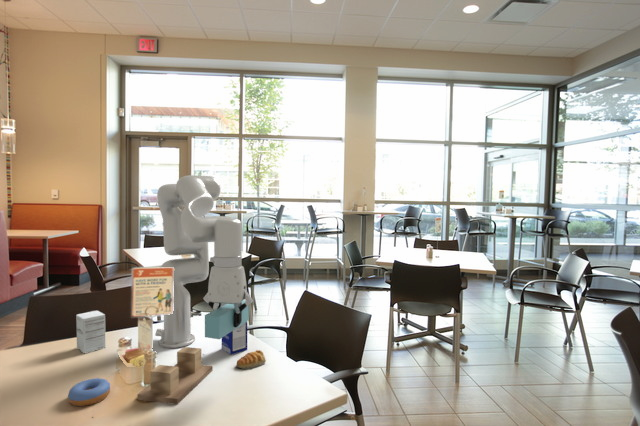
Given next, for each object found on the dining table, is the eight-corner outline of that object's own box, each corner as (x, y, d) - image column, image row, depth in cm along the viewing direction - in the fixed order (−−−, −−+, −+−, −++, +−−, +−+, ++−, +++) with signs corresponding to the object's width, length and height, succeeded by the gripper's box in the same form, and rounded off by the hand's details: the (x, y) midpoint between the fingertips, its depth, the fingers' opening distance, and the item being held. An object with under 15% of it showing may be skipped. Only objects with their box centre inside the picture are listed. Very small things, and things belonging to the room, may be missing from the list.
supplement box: (76, 348, 137) (75, 314, 136) (98, 342, 143) (98, 309, 142) (83, 354, 132) (82, 318, 132) (106, 348, 138) (105, 313, 137)
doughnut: (83, 387, 110) (83, 372, 109) (117, 389, 109) (117, 375, 109) (59, 409, 100) (58, 393, 99) (96, 412, 99) (96, 396, 99)
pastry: (243, 372, 120) (243, 360, 120) (232, 365, 125) (232, 354, 125) (267, 363, 127) (267, 352, 126) (256, 357, 131) (256, 346, 131)
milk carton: (221, 348, 138) (221, 294, 137) (237, 344, 142) (237, 291, 141) (231, 355, 133) (230, 298, 132) (247, 349, 137) (247, 295, 136)
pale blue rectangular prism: (204, 337, 102) (204, 315, 101) (235, 318, 117) (235, 299, 116) (219, 339, 100) (219, 317, 100) (248, 320, 115) (248, 300, 115)
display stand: (137, 399, 104) (137, 372, 103) (178, 367, 123) (178, 344, 123) (177, 404, 101) (177, 377, 101) (212, 370, 121) (212, 347, 120)
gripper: (193, 263, 105) (193, 327, 106) (251, 265, 102) (251, 332, 103) (206, 258, 113) (206, 318, 114) (261, 261, 110) (260, 322, 111)
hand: (228, 324), depth 108 cm, fingers closed on pale blue rectangular prism, 4 cm apart
